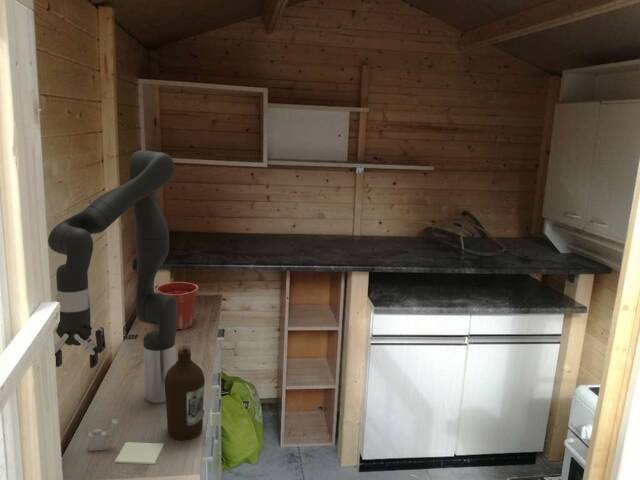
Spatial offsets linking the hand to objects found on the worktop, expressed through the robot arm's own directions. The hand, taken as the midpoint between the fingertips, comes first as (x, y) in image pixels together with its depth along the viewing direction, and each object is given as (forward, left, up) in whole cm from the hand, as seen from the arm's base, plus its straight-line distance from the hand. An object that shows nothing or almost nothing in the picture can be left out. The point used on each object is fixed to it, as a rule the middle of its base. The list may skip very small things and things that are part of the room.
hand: (76, 366), depth 137 cm
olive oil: (-8, +26, -22) cm, 35 cm away
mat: (+3, +17, -22) cm, 28 cm away
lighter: (+1, +7, -22) cm, 23 cm away
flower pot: (-83, +5, -23) cm, 86 cm away
